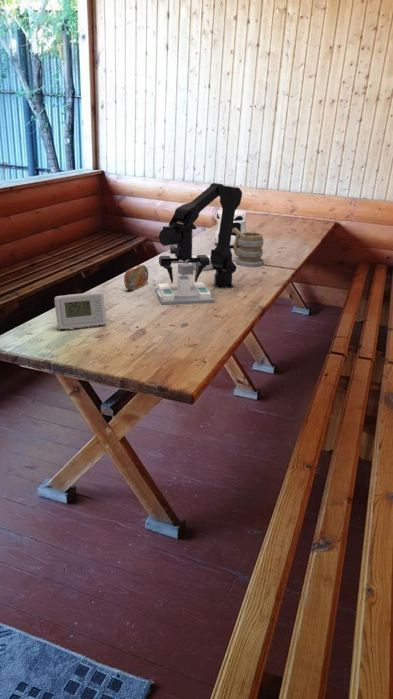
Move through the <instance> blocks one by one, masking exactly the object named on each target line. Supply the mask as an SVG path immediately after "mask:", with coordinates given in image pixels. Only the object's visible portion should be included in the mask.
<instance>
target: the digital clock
mask: <svg viewBox="0 0 393 699" xmlns="http://www.w3.org/2000/svg"><path fill="white" fill-rule="evenodd" d="M53 299H54V300H53V301H54V307H55V308H54V310H55V315H56V316H55V317H56V323H57V329H58V330H60V329H65V330H69V329H70V328H79V327H88V326H96V327H98V326H99V325H100V326H105V325H106V324H107V316H106V307H105V299H104V294H103V292H101V291H98V292H97V291H96V292H84V293H73V294H72V293H71V294H66V295H58V296H57V295H56V296H55V297H54V298H53ZM100 326H99V327H100ZM88 328H89V327H88Z"/></svg>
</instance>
